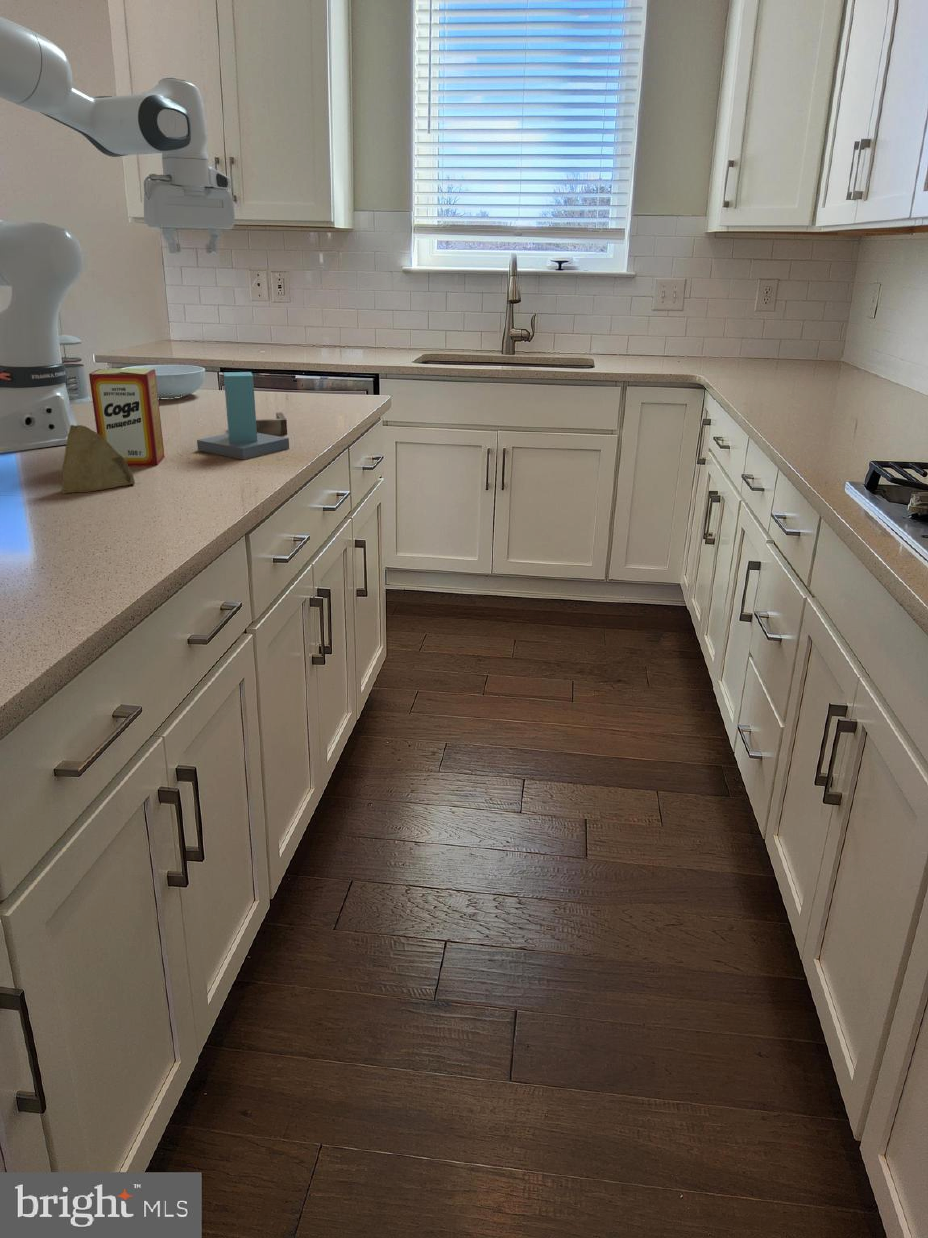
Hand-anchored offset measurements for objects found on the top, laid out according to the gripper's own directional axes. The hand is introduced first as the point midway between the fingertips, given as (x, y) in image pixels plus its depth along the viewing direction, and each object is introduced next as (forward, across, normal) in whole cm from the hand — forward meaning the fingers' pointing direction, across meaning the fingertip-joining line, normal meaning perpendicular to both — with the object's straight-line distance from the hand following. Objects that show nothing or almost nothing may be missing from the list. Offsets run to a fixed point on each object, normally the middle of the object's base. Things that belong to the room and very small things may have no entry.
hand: (193, 253), depth 181 cm
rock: (+34, -47, -27) cm, 64 cm away
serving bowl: (+34, +18, +36) cm, 53 cm away
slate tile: (+34, -13, -24) cm, 44 cm away
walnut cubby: (+34, +2, -13) cm, 37 cm away
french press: (+34, 0, +49) cm, 60 cm away
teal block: (+32, -13, -24) cm, 42 cm away
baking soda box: (+34, -32, -16) cm, 50 cm away
